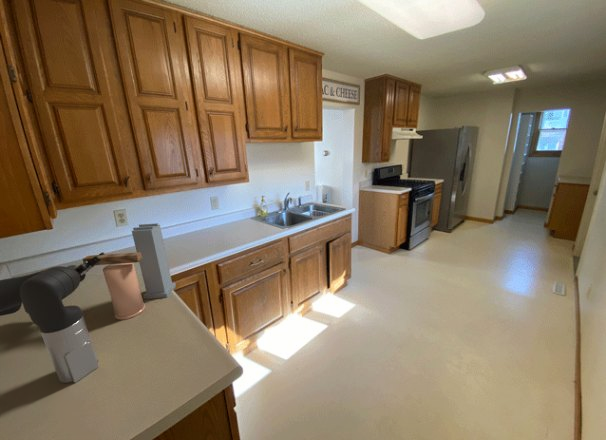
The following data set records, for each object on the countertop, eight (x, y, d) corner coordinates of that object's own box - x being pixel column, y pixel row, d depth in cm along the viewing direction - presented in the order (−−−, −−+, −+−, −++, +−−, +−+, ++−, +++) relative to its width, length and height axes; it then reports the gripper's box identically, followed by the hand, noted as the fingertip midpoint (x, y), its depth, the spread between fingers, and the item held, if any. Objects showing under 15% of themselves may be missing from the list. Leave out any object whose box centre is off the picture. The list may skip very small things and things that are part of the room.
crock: (150, 307, 109) (140, 262, 103) (125, 322, 99) (111, 274, 94) (135, 301, 113) (124, 258, 107) (109, 316, 104) (95, 269, 98)
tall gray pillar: (175, 285, 125) (162, 221, 116) (167, 297, 116) (152, 228, 107) (154, 287, 125) (140, 223, 116) (144, 299, 115) (127, 229, 106)
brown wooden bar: (142, 259, 102) (140, 252, 101) (138, 262, 99) (136, 255, 98) (90, 262, 101) (88, 255, 100) (84, 266, 98) (82, 258, 97)
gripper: (87, 277, 108) (119, 256, 107) (59, 295, 95) (95, 271, 93) (73, 264, 106) (106, 242, 105) (43, 280, 93) (80, 256, 91)
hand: (101, 256), depth 99 cm, fingers closed on brown wooden bar, 3 cm apart
